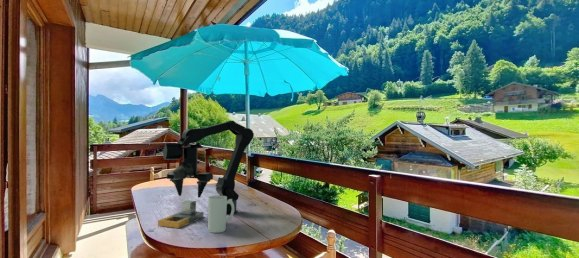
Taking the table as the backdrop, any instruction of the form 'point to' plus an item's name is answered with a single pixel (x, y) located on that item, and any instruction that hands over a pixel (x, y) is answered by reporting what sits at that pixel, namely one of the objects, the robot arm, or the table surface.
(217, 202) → the mug
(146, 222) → the table surface
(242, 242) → the table surface
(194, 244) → the table surface
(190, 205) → the peg
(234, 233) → the table surface
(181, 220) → the shallow compartment tray
